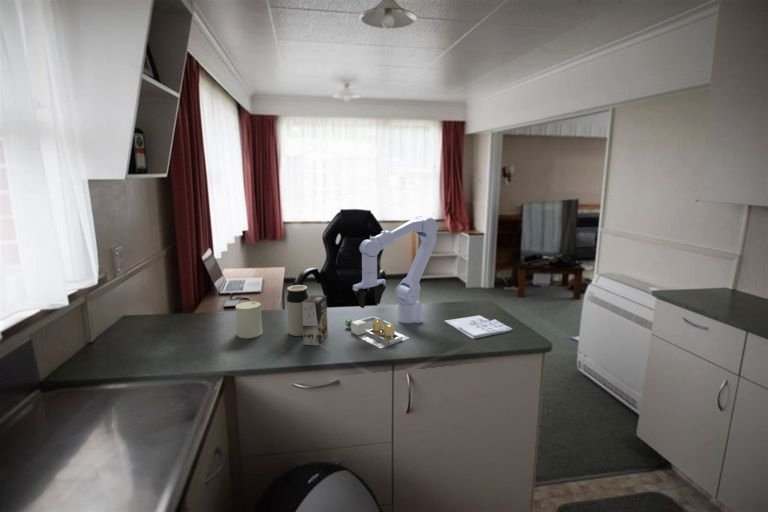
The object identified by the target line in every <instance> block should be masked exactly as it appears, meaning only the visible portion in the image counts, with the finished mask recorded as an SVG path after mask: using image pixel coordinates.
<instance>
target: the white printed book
mask: <svg viewBox="0 0 768 512" xmlns="http://www.w3.org/2000/svg"><path fill="white" fill-rule="evenodd" d="M444 323H445V324H448V325H449V326H451V327H453V328H454V329H456V330H458V331H459V332H461V333H462V334H464V335H465V336H467V337H469V338H471V339H473V340H474V339H478V338H485V337H488V336H492V335H497V334H504V333H507V332H511V331H512V330H513V328H512V327H510V326H507V325H505V323H502V322H500V321H499V320H497V319H495V318H494V319H491V320H490V319H488V318H486V317H484V316H482V315H473V316H467V317H466V316H465V317H460V318H455V319H454V318H453V319H447V320H446V319H445V320H444Z"/></svg>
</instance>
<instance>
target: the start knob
mask: <svg viewBox="0 0 768 512" xmlns="http://www.w3.org/2000/svg"><path fill="white" fill-rule="evenodd" d="M351 322H353V321H352V320H351V319H349V318H347V319H346V320H345V322H344V325H345V326H346V327H347V328H351Z"/></svg>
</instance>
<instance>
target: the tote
mask: <svg viewBox="0 0 768 512" xmlns="http://www.w3.org/2000/svg"><path fill="white" fill-rule="evenodd" d="M374 319H381V318H380V317H377V316H375V315H371V316H369V317H365V318H362V319H360V320H362V321H364V322H366V323H368V322H373V320H374ZM382 320H383V328H384V324H393V323H391V322H389V321H387V320H384V319H382ZM367 330H369V329H367V328H366V331H367Z"/></svg>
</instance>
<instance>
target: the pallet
mask: <svg viewBox="0 0 768 512" xmlns="http://www.w3.org/2000/svg"><path fill="white" fill-rule="evenodd" d="M358 338H359V339H360V340H363V341H365V342H367V343H368V344H370V345H373V346H375V347H377V348H379V349H382V348H385V347H388V346H391V345H394V344H397V343H400V342H402V341H405V340H408V339H410V337H409V336H406V335H404V334H402V333H400V332H398V331H395V338H393V339H390V340H387V339H385V338H384V327H383V333H382V334H379V335H376V334H374V333H373V328H371V329H370V328H369V329H368V330H367V331H366V333H365V334H364V335H363V334H362V335H358Z"/></svg>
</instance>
